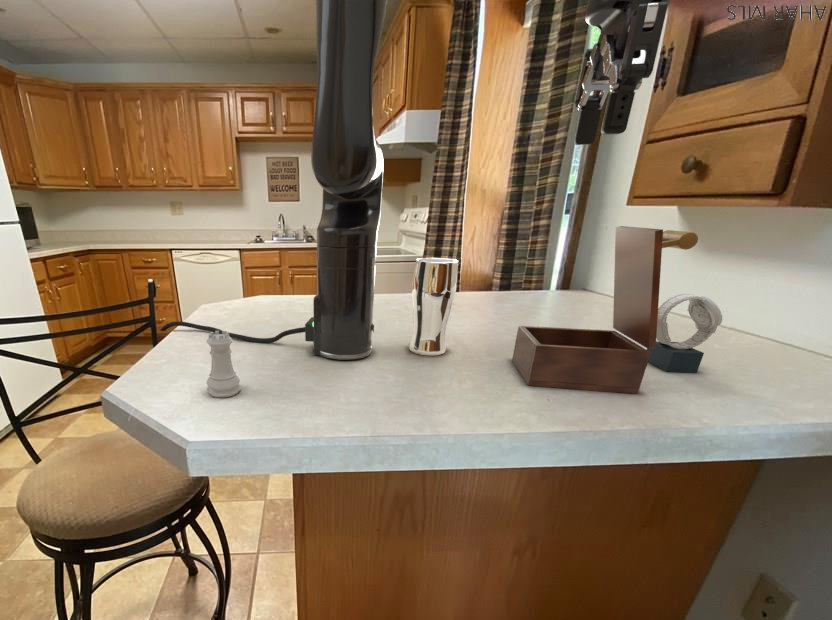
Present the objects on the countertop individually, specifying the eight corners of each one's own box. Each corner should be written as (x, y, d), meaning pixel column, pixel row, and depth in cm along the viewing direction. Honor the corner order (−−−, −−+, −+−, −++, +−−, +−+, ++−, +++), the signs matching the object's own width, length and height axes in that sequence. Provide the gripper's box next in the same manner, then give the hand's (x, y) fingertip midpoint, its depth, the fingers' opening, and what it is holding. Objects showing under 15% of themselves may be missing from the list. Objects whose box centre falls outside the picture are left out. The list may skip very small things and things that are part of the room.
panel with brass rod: (655, 230, 49) (715, 219, 47) (615, 227, 58) (664, 217, 57) (648, 349, 54) (703, 342, 52) (612, 328, 63) (657, 321, 62)
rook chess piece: (224, 401, 53) (219, 340, 50) (199, 393, 55) (192, 334, 52) (248, 389, 57) (244, 331, 54) (223, 382, 59) (218, 326, 56)
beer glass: (403, 353, 71) (410, 261, 65) (410, 342, 77) (418, 257, 71) (445, 358, 69) (457, 263, 63) (450, 346, 75) (461, 259, 69)
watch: (710, 373, 63) (739, 299, 59) (654, 371, 64) (678, 298, 60) (683, 360, 68) (708, 292, 64) (631, 359, 69) (652, 291, 65)
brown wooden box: (528, 385, 58) (536, 345, 56) (511, 360, 68) (518, 325, 66) (637, 394, 56) (651, 352, 54) (604, 366, 66) (615, 330, 63)
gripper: (573, -7, 50) (544, 148, 56) (629, -82, 37) (584, 130, 44) (644, -13, 49) (606, 147, 55) (727, -92, 36) (666, 128, 42)
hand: (596, 139), depth 49 cm, fingers open, 8 cm apart
